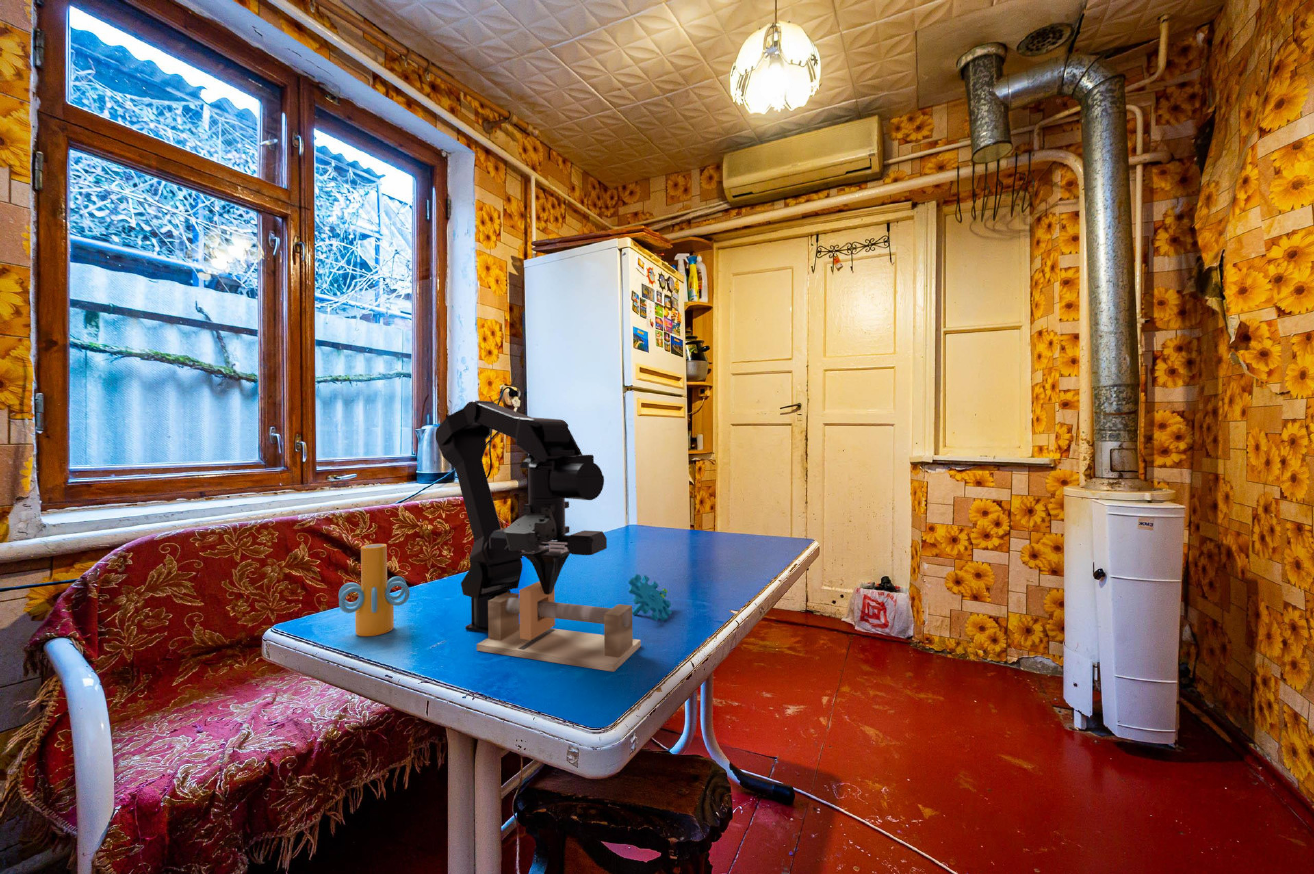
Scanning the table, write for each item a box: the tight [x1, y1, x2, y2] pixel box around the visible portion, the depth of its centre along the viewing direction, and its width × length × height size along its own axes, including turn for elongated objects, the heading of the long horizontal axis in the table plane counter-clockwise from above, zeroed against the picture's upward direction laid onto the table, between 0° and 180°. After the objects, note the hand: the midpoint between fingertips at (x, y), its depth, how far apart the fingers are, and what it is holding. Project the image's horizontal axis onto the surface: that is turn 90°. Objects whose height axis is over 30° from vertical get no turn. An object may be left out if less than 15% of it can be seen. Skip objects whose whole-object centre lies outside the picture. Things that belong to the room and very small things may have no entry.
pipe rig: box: [476, 592, 642, 672], centre depth 85 cm, size 24×10×7 cm, turn 69°
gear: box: [628, 574, 673, 622], centre depth 101 cm, size 11×6×10 cm
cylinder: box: [338, 543, 411, 637], centre depth 94 cm, size 12×10×15 cm
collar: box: [519, 580, 556, 640], centre depth 87 cm, size 2×7×8 cm, turn 159°
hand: (548, 593), depth 86 cm, fingers closed
